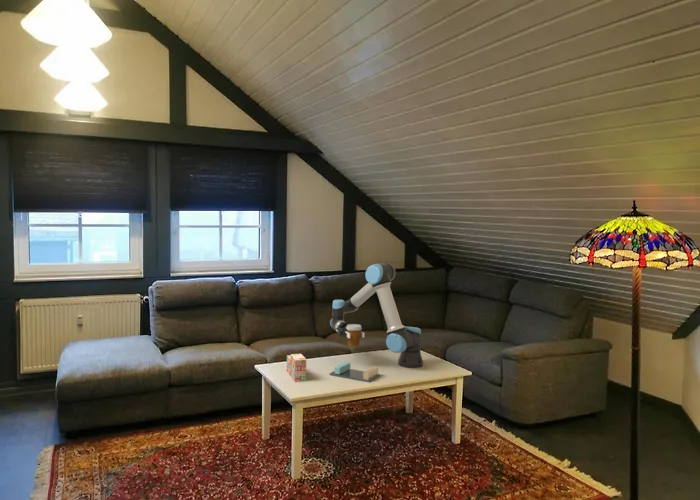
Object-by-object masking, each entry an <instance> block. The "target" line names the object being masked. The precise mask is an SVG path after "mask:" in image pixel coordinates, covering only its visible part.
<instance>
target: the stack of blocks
mask: <svg viewBox="0 0 700 500" xmlns="http://www.w3.org/2000/svg"><path fill="white" fill-rule="evenodd" d="M286 372H287V373H288V375H289V376H290V377H291V378H292V380H293V381H294V383H299V382H306V381H307V358H306V357H305V356H304V355H303V354H302V353H292V354H290V355H286Z"/></svg>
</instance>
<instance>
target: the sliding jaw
mask: <svg viewBox="0 0 700 500" xmlns="http://www.w3.org/2000/svg"><path fill="white" fill-rule="evenodd" d="M349 369H351V362H348V361H345V362H343V363H341V364H339V365H336V366H335V367H334V371H335V374H341V373H343V372H345V371H347V370H349Z"/></svg>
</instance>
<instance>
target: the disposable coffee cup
mask: <svg viewBox="0 0 700 500" xmlns="http://www.w3.org/2000/svg"><path fill="white" fill-rule="evenodd" d="M348 324H349V325H347V327H346V329H347V332H348V333H350V338H348V337H347V346H348V347H350V348H351V347H353V348H356V347H359V346H360V340H361V336H360V335H361V329H362V330H363V327H362V325H361V324H356V323H348Z"/></svg>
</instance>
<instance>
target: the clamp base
mask: <svg viewBox="0 0 700 500" xmlns="http://www.w3.org/2000/svg"><path fill="white" fill-rule="evenodd" d="M329 376H333V377H337V378H343V379H349V380H355V381H359V382H363V383H364V382H366V383H372V382H373V381H374V380H376V379H378V378H380V377H381V374H380V373H379V367H378V366H372V367H370V368H368V369H366V370H364V371H362V370H359V369H352V368H350V369H349V370H347V371H345V372H343V373H341V374H335V370H334V371H332V372H330V373H329Z"/></svg>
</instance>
